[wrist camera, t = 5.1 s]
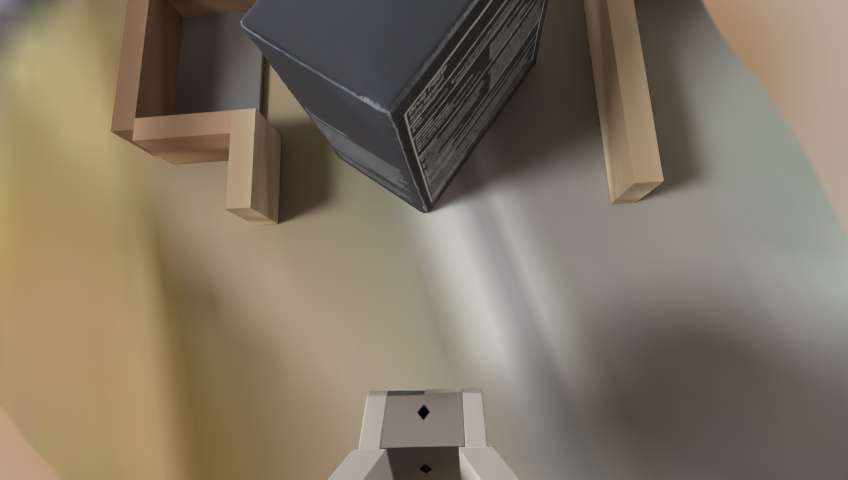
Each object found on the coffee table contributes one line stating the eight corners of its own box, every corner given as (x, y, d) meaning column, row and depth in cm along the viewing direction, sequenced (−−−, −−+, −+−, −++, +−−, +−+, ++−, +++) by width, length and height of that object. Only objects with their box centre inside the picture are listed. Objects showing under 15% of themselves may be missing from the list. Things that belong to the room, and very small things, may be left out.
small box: (440, 8, 25) (423, -222, 14) (539, 61, 23) (597, -151, 13) (329, 154, 23) (224, 14, 13) (427, 218, 22) (397, 119, 12)
